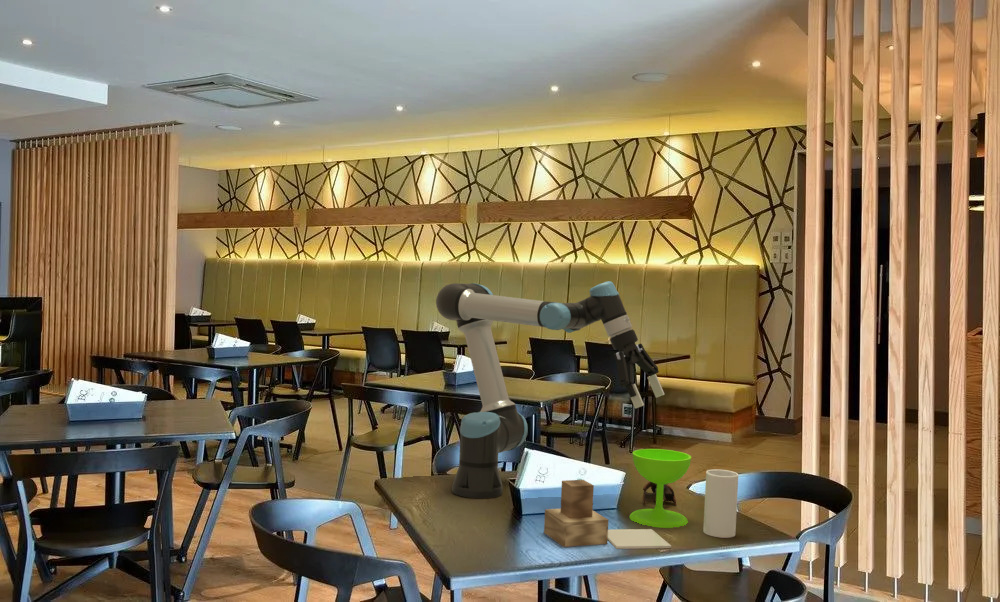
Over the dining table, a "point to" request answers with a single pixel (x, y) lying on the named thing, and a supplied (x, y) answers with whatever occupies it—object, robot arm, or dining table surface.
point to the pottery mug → (651, 497)
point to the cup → (720, 503)
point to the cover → (576, 517)
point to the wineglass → (660, 484)
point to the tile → (636, 539)
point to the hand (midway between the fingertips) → (650, 401)
